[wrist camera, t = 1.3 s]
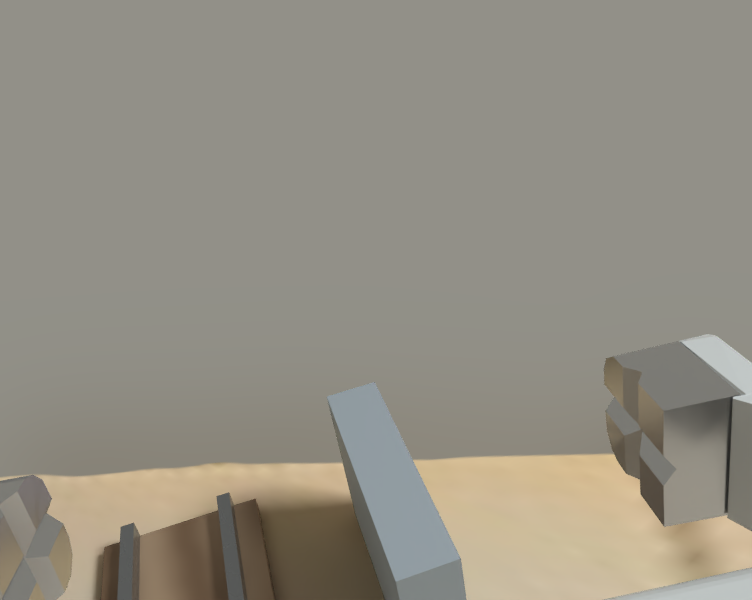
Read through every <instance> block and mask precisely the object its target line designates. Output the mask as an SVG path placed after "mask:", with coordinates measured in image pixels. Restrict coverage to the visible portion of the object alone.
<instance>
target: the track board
mask: <svg viewBox="0 0 752 600" xmlns="http://www.w3.org/2000/svg"><path fill="white" fill-rule="evenodd" d="M217 504H218V511H215V512H212V513H209V514H206V515H203V516H200V517H197V518H194V519H191V520H188V521H184V522H181V523H178V524H175V525H172V526H169V527H166V528H163V529H160V530H157V531H153V532H150V533H147V534H144V535H141V536H140V535H139V532H138V530H137V528H136V526H135V524H134V523H132V524H128V525H125V526H122V527H121V533H120V542H119V543H116V544H113V545H110V546H107V547H105V549H104V563H103V577H102V591H101V600H275V595H274V590H273V584H272V579H271V573H270V568H269V563H268V557H267V552H266V547H265V541H264V536H263V530H262V525H261V520H260V514H259V509H258V505H257V502H256V499H253V500H250V501H246V502H243V503H240V504H237V505H234V504H233V502H232V499H231V496H230V493H226V494H222V495H219V496H217Z"/></svg>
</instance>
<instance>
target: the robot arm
mask: <svg viewBox="0 0 752 600" xmlns="http://www.w3.org/2000/svg"><path fill="white" fill-rule="evenodd" d="M604 385H605V386H606V387H607V388H608V389H609V391H610V392H611V393H612V394H613V396H614V398H613V400H612V401H611V403H610V405H609V406H608V408H607V409H606V423H607V432H608V436H609V439H610V443H611V447H612V450H613V452H614V454H615V456H616V458H617V461H618V462H619V464H620V465H621V467H622V468H623V470H624V471H625V473H626V474H628V475H631V476H633V477H635V478H638V479H640V489H641V495H642V497H643V498H644V499H645V501H646V502H647V504H648V505H649V506H650V508H651V509H652V510H653V512H654V513H655V515H656V516H657V517H658V519H659V520H660V521H661V523H662V524H663V526H664V527H665V526H671V525H676V524H681V523H687V522H692V521H698V520H703V519H708V518H714V517H719V516H725V515H728V517H727V518H729V519H730V520H732V521H734V522H736V523H738V524H740V525H741V526H743V527H745V528H747V529H749V530H751V531H752V363H751V362H750V361H748V360H747V359H746V358H744V357H743V356H742V355H741V354H739V353H738V352H737V351H735V350H734V349H733V348H731V347H730V346H729V345H727V344H726V343H725V342H724V341H722V340H721V339H720V338H718V337H717V336H714V335H710V334H705V335H701V336H697V337H693V338H689V339H685V340H681V341H677V342H673V343H669V344H665V345H660V346H656V347H652V348H647V349H643V350H639V351H634V352H630V353H626V354H621V355H617V356H613V357H609V358H606V361H605V366H604ZM51 500H52V498H51V496H50V494H49V492H48V490H47V488H46V486H45V484H44V482H43V480H42V479H40V478H38V477H36V476H34V475H30V476H24V477H19V478H14V479H8V480H3V481H0V600H57V599H58V598H59V597H60V596H61V595H62V594H63V593H64V592H65V590H66V588H67V585H68V582H69V580H70V577H71V570H72V549H71V544H70V539H69V536H68V534H67V532H66V529H65V527H64V525H63V523H61V522H60V521H58V520H56V519H55V518H53V517H52V516H50V515H48V514H47V510H48V508H49V505H50V502H51ZM604 600H752V568H747V569H742V570H738V571H733V572H729V573H724V574H719V575H715V576H710V577H706V578H701V579H696V580H692V581H687V582H682V583H678V584H673V585H669V586H664V587H659V588H655V589H650V590H646V591H641V592H636V593H632V594H627V595H623V596H618V597H613V598H609V599H604Z"/></svg>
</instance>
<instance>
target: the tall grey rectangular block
mask: <svg viewBox="0 0 752 600" xmlns="http://www.w3.org/2000/svg"><path fill="white" fill-rule="evenodd" d="M327 400H328V403H329V408H330V412H331V416H332V420H333V424H334V428H335V433H336V437H337V441H338V445H339V449H340V453H341V457H342V461H343V465H344V469H345V474H346V478H347V482H348V486H349V490H350V494H351V498H352V502H353V506H354V510H355V515H356V517H357V520H358V523H359V526H360V529H361V532H362V535H363V538H364V541H365V543H366V546H367V549H368V552H369V555H370V558H371V561H372V564H373V566H374V569H375V572H376V575H377V578H378V581H379V584H380V587H381V589H382V592H383V595H384V598H385V600H466V593H465V586H464V579H463V571H462V564H461V558H460V556H459V554H458V552H457V550H456V548H455V546H454V544H453V542H452V540H451V538H450V536H449V534H448V531H447V529H446V527H445V525H444V523H443V521H442V519H441V517H440V515H439V513H438V511H437V509H436V507H435V505H434V503H433V501H432V499H431V497H430V495H429V493H428V491H427V488H426V486H425V484H424V482H423V480H422V478H421V476H420V474H419V472H418V470H417V468H416V466H415V464H414V462H413V460H412V458H411V456H410V454H409V452H408V450H407V448H406V445H405V443H404V442H403V439H402V437H401V435H400V433H399V431H398V429H397V427H396V425H395V423H394V421H393V419H392V417H391V415H390V413H389V411H388V409H387V407H386V405H385V402H384V401H383V398H382V396H381V394H380V392H379V390H378V388H377V386H376V384H375V382H374V383H371V384H367V385H364V386H361V387H357V388H354V389H350V390H347V391H344V392H341V393H338V394H334V395H331V396H328V397H327Z"/></svg>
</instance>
